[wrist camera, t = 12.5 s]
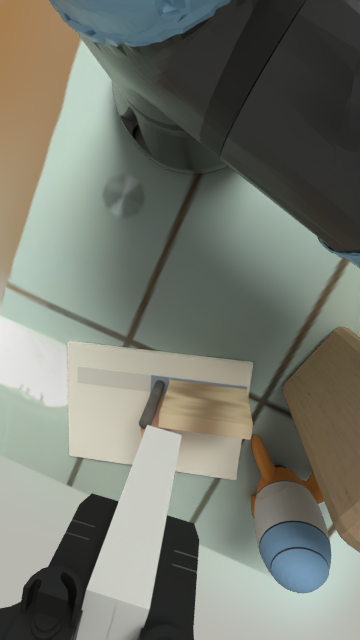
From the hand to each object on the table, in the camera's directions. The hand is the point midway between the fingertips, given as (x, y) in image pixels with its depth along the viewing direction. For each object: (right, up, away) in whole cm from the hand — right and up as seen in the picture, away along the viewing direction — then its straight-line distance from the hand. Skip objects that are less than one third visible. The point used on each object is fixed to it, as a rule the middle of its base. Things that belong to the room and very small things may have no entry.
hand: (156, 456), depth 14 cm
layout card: (-2, -6, +27) cm, 28 cm away
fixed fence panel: (+3, -2, +25) cm, 26 cm away
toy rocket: (+14, -13, +28) cm, 34 cm away
